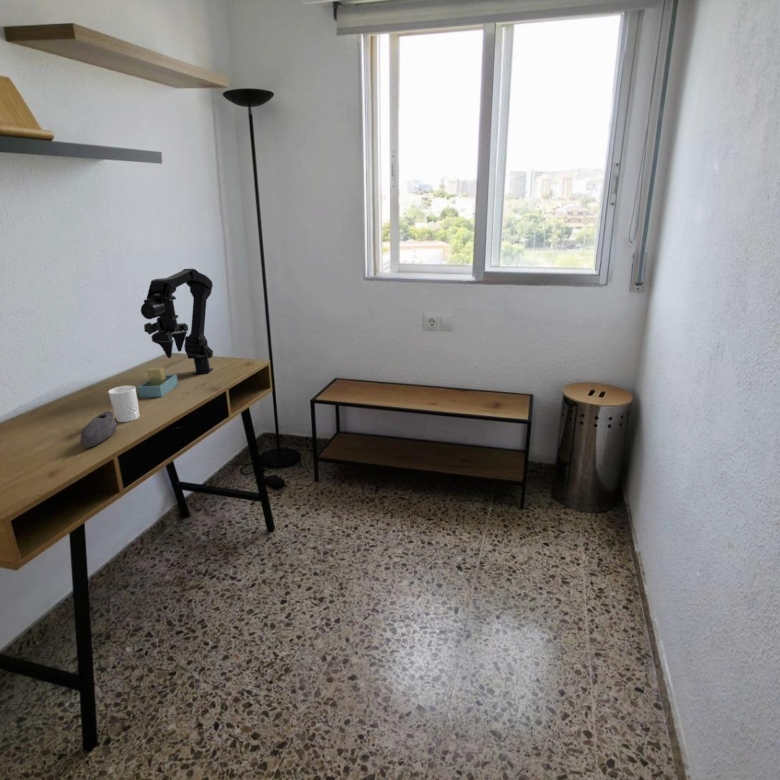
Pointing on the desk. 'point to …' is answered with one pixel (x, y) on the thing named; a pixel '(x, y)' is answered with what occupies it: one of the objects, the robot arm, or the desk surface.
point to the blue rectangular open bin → (157, 387)
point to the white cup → (124, 403)
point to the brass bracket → (156, 376)
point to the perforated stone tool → (98, 429)
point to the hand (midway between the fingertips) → (174, 354)
